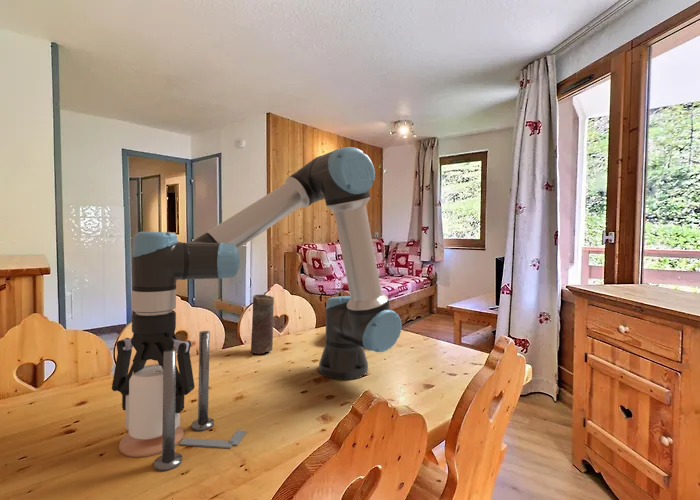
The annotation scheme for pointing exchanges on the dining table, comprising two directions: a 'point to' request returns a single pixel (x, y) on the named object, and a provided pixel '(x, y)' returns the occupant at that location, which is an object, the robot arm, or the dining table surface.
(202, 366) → the gate posts
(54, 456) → the dining table surface
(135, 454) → the pad
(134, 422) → the beverage can
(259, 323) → the candle
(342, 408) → the dining table surface
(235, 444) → the strip
